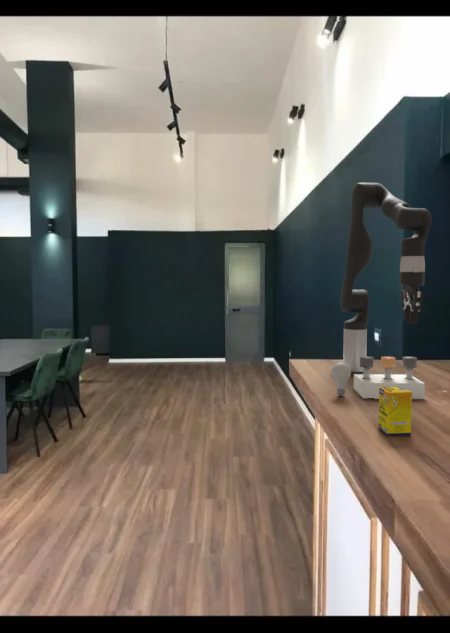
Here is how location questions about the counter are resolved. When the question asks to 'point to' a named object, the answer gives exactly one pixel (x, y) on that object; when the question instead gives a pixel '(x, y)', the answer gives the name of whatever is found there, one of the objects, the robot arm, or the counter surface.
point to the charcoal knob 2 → (409, 366)
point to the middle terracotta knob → (388, 366)
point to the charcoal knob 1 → (366, 365)
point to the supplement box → (395, 411)
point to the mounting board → (387, 385)
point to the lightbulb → (341, 376)
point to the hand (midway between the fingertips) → (410, 322)
